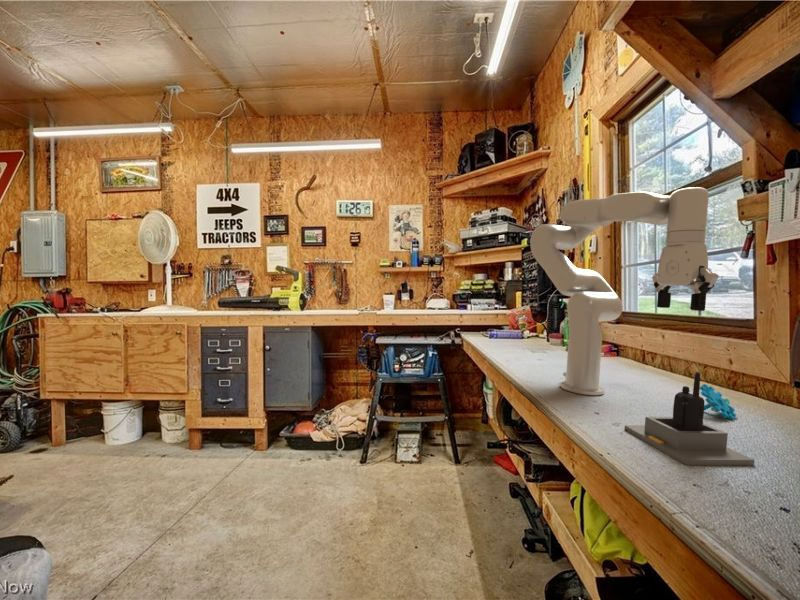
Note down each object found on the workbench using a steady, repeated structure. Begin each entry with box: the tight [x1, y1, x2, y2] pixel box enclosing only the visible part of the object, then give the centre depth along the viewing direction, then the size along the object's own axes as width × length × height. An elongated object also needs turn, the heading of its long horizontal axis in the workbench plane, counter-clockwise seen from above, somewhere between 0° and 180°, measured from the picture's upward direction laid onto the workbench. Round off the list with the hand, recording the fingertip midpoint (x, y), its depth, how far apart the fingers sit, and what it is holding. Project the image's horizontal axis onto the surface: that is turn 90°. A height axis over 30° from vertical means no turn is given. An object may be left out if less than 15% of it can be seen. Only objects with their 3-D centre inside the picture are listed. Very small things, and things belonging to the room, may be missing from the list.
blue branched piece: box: [699, 383, 737, 421], centre depth 96 cm, size 11×6×10 cm
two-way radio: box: [672, 371, 705, 431], centre depth 74 cm, size 6×4×15 cm
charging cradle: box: [624, 416, 755, 466], centre depth 74 cm, size 16×14×4 cm
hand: (679, 308), depth 88 cm, fingers open, 9 cm apart
